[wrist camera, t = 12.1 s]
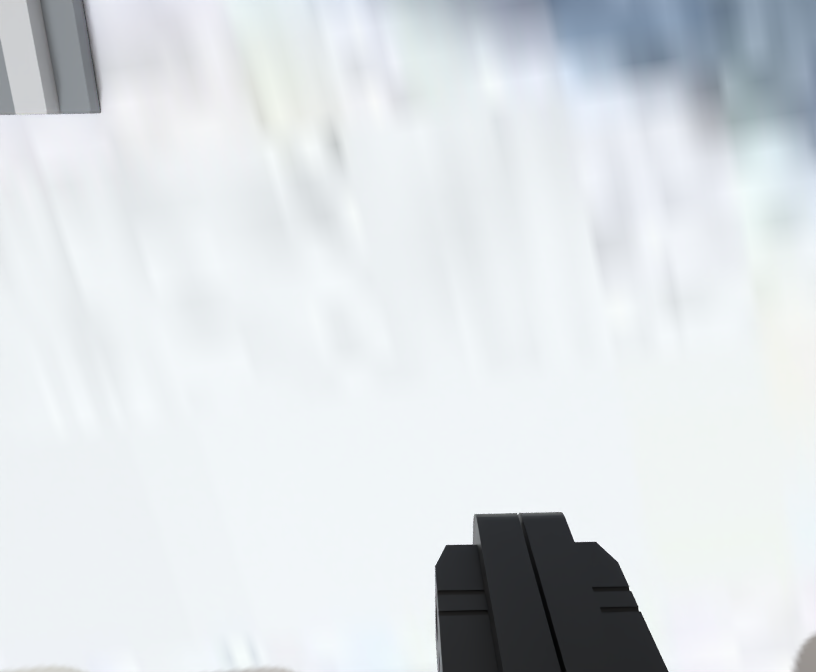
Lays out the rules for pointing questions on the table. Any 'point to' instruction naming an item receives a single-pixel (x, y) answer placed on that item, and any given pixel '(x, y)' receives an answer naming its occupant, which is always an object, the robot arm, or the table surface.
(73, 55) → the roller track
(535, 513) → the robot arm
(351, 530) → the table surface
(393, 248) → the table surface
